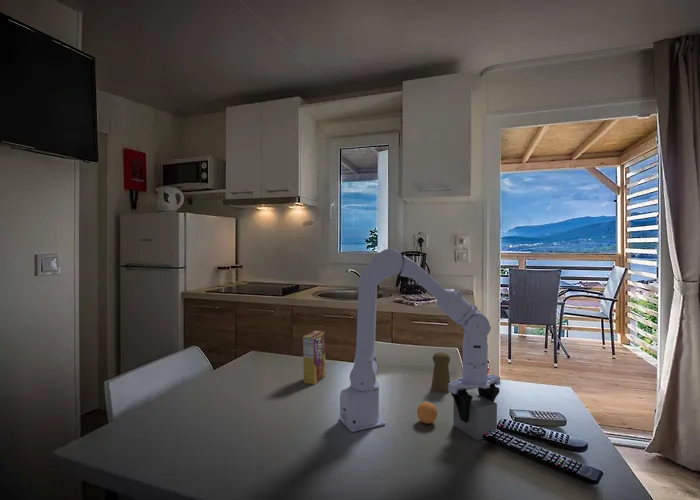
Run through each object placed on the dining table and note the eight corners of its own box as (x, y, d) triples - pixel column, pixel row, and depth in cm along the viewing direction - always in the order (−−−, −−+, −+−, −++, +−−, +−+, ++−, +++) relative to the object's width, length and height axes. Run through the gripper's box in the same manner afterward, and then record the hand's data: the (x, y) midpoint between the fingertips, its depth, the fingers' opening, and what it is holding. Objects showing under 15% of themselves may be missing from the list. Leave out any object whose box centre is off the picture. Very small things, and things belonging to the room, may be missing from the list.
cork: (428, 390, 117) (429, 354, 117) (434, 383, 122) (434, 349, 122) (448, 393, 114) (448, 357, 114) (453, 387, 120) (453, 352, 119)
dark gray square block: (477, 440, 86) (477, 408, 86) (453, 425, 94) (453, 395, 94) (496, 435, 89) (496, 403, 89) (472, 420, 96) (472, 391, 96)
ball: (424, 428, 92) (425, 408, 92) (412, 420, 96) (413, 400, 96) (441, 424, 94) (441, 404, 94) (429, 416, 99) (429, 397, 98)
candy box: (314, 374, 131) (314, 330, 131) (325, 376, 129) (326, 331, 129) (302, 383, 122) (302, 335, 122) (314, 384, 121) (314, 337, 121)
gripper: (463, 370, 85) (462, 431, 85) (510, 362, 91) (509, 419, 91) (442, 361, 91) (442, 418, 91) (488, 354, 97) (487, 407, 97)
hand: (474, 418), depth 91 cm, fingers closed on dark gray square block, 6 cm apart
